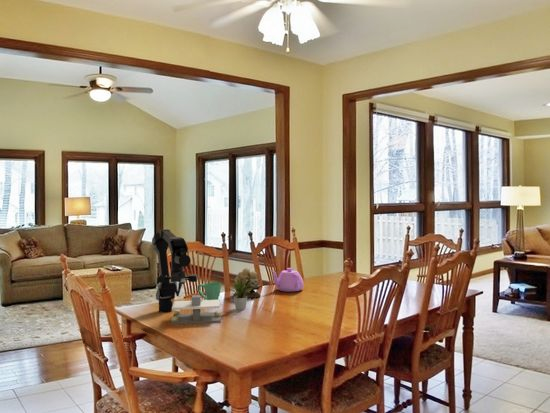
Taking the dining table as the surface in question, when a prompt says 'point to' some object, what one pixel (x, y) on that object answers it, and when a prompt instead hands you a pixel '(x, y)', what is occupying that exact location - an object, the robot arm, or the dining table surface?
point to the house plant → (240, 294)
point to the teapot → (288, 280)
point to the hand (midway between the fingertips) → (177, 296)
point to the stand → (195, 317)
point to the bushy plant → (250, 277)
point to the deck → (189, 305)
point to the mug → (210, 290)
